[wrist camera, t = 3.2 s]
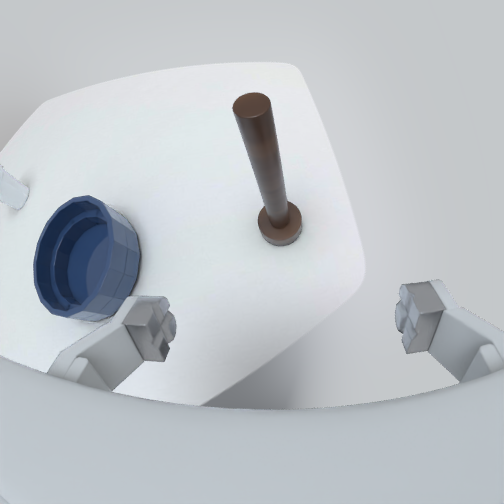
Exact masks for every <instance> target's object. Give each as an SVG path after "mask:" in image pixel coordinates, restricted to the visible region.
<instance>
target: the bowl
mask: <svg viewBox="0 0 504 504" xmlns="http://www.w3.org/2000/svg"><path fill="white" fill-rule="evenodd" d="M139 259H140V251H139V246H138V240H137V234H136V232H135V231H134V229H133V228H132V226H131V225H130V223H129V222H128V220H127V219H126V218H125V217H123V216H122V215H120V214H119V213H118V212H116V211H115V210H113V209H112V208H110V207H109V206H108V205H106V204H105V203H103V202H102V201H100V200H98V199H96V198H94V197H92V196H89V195H88V196H81V197H75V198H72V199H71V200H69V201H68V202H66V203H65V204H63V205H62V206H60V207H59V208H58V209H57V210H56V211H55V213H54V214H53V215H52V216H51V218H50V219H49V220H48V221H47V223H46V225H45V227H44V229H43V231H42V233H41V236H40V238H39V240H38V243H37V247H36V252H35V257H34V262H33V271H34V285H35V288H36V291H37V294H38V296H39V299H40V301H41V303H42V304H43V305H44V306H45V307H46V308H47V309H48V310H49V312H50V313H51V314H54V315H58V316H62V317H66V318H73V319H80V320H88V321H98V320H101V319H104V318H106V317H109V316H112V315H113V314H114V313H115V312H116V311H117V310H118V309H119V308H120V307H121V305H122V304H123V302H124V301H125V300H126V298H127V297H128V296H129V294H130V292H131V290H132V288H133V286H134V284H135V281H136V278H137V273H138V266H139Z"/></svg>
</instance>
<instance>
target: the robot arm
mask: <svg viewBox="0 0 504 504" xmlns="http://www.w3.org/2000/svg"><path fill="white" fill-rule="evenodd" d="M399 296H400V298H401V300H400V301H399V302H398V303H397V304H396V310H395V322H396V326H397V329H398V331H399V332H401V333H402V334H403V336H402V343H403V345H404V348H405V351H406V354H410V353H416V352H422V351H428V352H429V353H430V354H431V355H432V356H433V357H434V358H435V359H436V360H437V361H438V362H439V363H441V364H442V365H443V366H444V367H445V368H446V369H447V370H448V371H449V372H450V373H451V374H452V375H453V376H454V377H455V378H456V379H457V380H459V381H460V383H459V384H456V385H453V386H450V387H446V388H442V389H438V390H434V391H430V392H426V393H421V394H417V395H412V396H407V397H401V398H396V399H391V400H384V401H379V402H372V403H364V404H356V405H347V406H338V407H326V408H311V409H285V410H284V409H281V410H260V409H231V408H216V407H204V406H194V405H185V404H177V403H170V402H163V401H156V400H150V399H144V398H139V397H134V396H128V395H124V394H119V393H114V392H112V391H113V390H114V389H115V388H116V387H117V386H118V385H119V384H120V383H121V382H122V381H124V380H125V379H126V378H127V377H128V376H129V375H130V374H131V373H132V372H133V371H134V370H136V369H137V368H138V367H139V366H140V365H141V364H142V363H143V362H144V361H157V362H164V361H165V359H166V357H167V354H168V352H169V349H170V348H169V345H168V343H170V342H171V341H172V340H174V337H175V334H176V320H175V318H174V315H173V314H172V313H171V312H169V311H168V309H169V307H170V304H169V302H168V300H167V298H166V297H164V296H129V297H127V298H126V300H125V301H124V302H123V304H122V305H121V307H120V308H119V310H118V311H117V313H116V314H115V316H114V317H113V319H112V320H111V322H110V323H106V324H104V325H102V326H101V327H99V328H98V329H96V330H94V331H93V332H91V333H90V334H88V335H86V336H85V337H83V338H82V339H80V340H79V341H77V342H75V343H74V344H72V345H71V346H69V347H67V348H66V349H64V350H63V351H61V352H60V354H59V355H58V357H57V358H56V360H55V361H54V363H53V364H52V366H51V367H50V369H49V370H48V372H47V373H44V372H41V371H38V370H35V369H33V368H30V367H27V366H25V365H22V364H20V363H17V362H15V361H12V360H10V359H8V358H5V357H3V356H1V355H0V504H504V332H503V331H502V330H500V329H499V328H497V327H495V326H494V325H492V324H491V323H489V322H487V321H486V320H484V319H482V318H480V317H479V316H477V315H475V314H474V313H472V312H470V311H469V310H467V309H465V308H463V307H461V308H459V306H458V305H457V303H456V302H455V300H454V298H453V297H452V295H451V294H450V292H449V291H448V289H447V288H446V286H445V285H444V283H443V282H442V281H441V280H439V279H438V280H431V281H427V282H419V283H410V284H402V285H401V287H400V290H399Z"/></svg>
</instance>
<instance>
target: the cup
mask: <svg viewBox="0 0 504 504" xmlns="http://www.w3.org/2000/svg"><path fill="white" fill-rule="evenodd" d="M28 194H29V188H28V187H26V186H25V185H24V184H22V183H21V182H20V181H18V180H17V179H16V178H14V177H13V176H12V175H10V174H9V173H8V172H6V171H5V170H4V168H3V166H2V165H1V164H0V202H2V203H4V204H7V205H9V206H11V207H13V208H15V209H17V210H19V209H20V208H21V207H23V206H24V204H25V202H26V200H27V198H28Z"/></svg>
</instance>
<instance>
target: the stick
mask: <svg viewBox="0 0 504 504" xmlns="http://www.w3.org/2000/svg"><path fill="white" fill-rule="evenodd" d="M233 112H234V115H235V118H236V121H237V124H238V127H239V130H240V133H241V136H242V138H243V141H244V144H245V147H246V150H247V153H248V156H249V159H250V162H251V165H252V168H253V171H254V174H255V177H256V180H257V183H258V186H259V189H260V193H261V196H262V199H263V202H264V205H265V206H264V207H263V208H262V210H261V211H260V213H259V216H258V225H259V228H260V231H261V233H262V235H263V237H264V238H265V240H266V241H268V242H269V243H271V244H273V245H276V246H285V245H289V244H291V243H292V242H294V241H295V240H296V239H297V238H298V237H299V235H300V233H301V229H302V218H301V213H300V211H299V209H298V208H297V207H296V206H295V205H294V204H293V203H291V202H289V201H287V197H286V191H285V184H284V177H283V171H282V165H281V159H280V153H279V147H278V141H277V135H276V129H275V123H274V118H273V112H272V107H271V102H270V99H269V98H268V97H267V96H266V95H264V94H261V93H247V94H244V95H242V96H240V97H239V98H238V99H237V100H236V101H235V102H234V104H233Z"/></svg>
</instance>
